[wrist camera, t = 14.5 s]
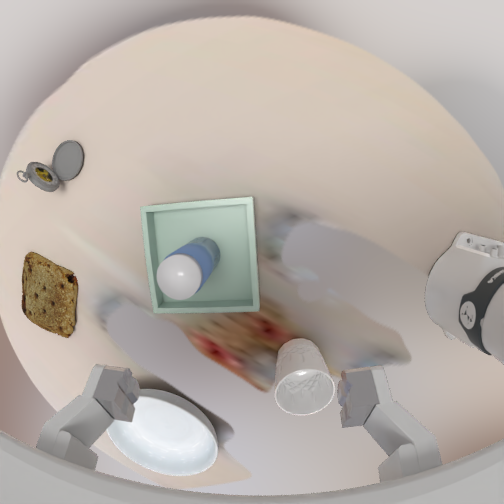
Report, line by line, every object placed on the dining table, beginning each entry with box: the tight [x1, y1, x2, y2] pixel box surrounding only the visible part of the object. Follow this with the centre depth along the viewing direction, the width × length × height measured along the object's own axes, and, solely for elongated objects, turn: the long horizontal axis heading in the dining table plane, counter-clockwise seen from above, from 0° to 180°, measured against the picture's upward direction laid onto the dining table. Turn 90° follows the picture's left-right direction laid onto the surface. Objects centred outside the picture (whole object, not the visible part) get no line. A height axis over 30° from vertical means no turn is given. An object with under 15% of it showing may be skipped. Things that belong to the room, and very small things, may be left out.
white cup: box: [275, 338, 335, 416], centre depth 40 cm, size 8×8×10 cm
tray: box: [140, 197, 260, 313], centre depth 41 cm, size 15×15×4 cm
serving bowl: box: [106, 389, 218, 476], centre depth 45 cm, size 21×21×7 cm
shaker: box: [157, 237, 220, 300], centre depth 36 cm, size 5×5×12 cm
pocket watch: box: [17, 140, 83, 192], centre depth 36 cm, size 8×8×10 cm
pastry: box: [22, 252, 78, 338], centre depth 44 cm, size 17×17×3 cm
